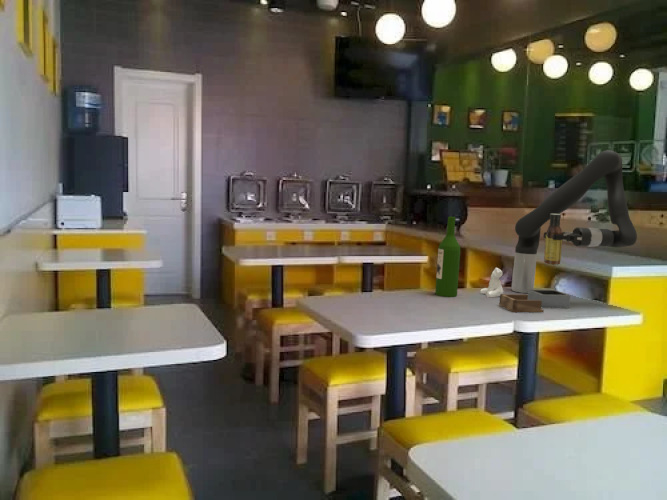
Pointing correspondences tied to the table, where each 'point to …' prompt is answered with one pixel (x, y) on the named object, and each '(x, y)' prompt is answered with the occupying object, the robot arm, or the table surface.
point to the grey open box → (550, 298)
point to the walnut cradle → (519, 303)
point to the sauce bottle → (553, 241)
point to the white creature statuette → (494, 285)
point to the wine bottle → (448, 263)
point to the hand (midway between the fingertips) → (548, 236)
